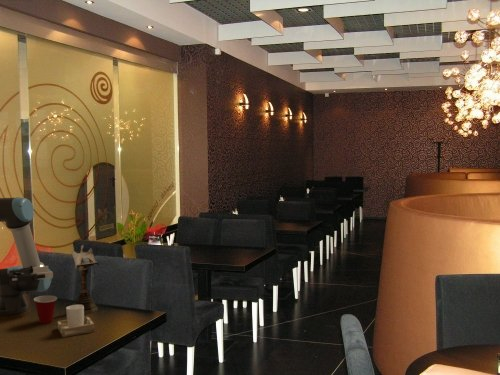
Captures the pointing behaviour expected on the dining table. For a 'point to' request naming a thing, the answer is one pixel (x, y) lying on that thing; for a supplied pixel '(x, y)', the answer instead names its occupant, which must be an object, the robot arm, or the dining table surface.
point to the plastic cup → (45, 308)
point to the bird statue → (84, 294)
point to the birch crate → (75, 328)
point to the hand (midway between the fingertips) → (50, 271)
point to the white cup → (75, 315)
